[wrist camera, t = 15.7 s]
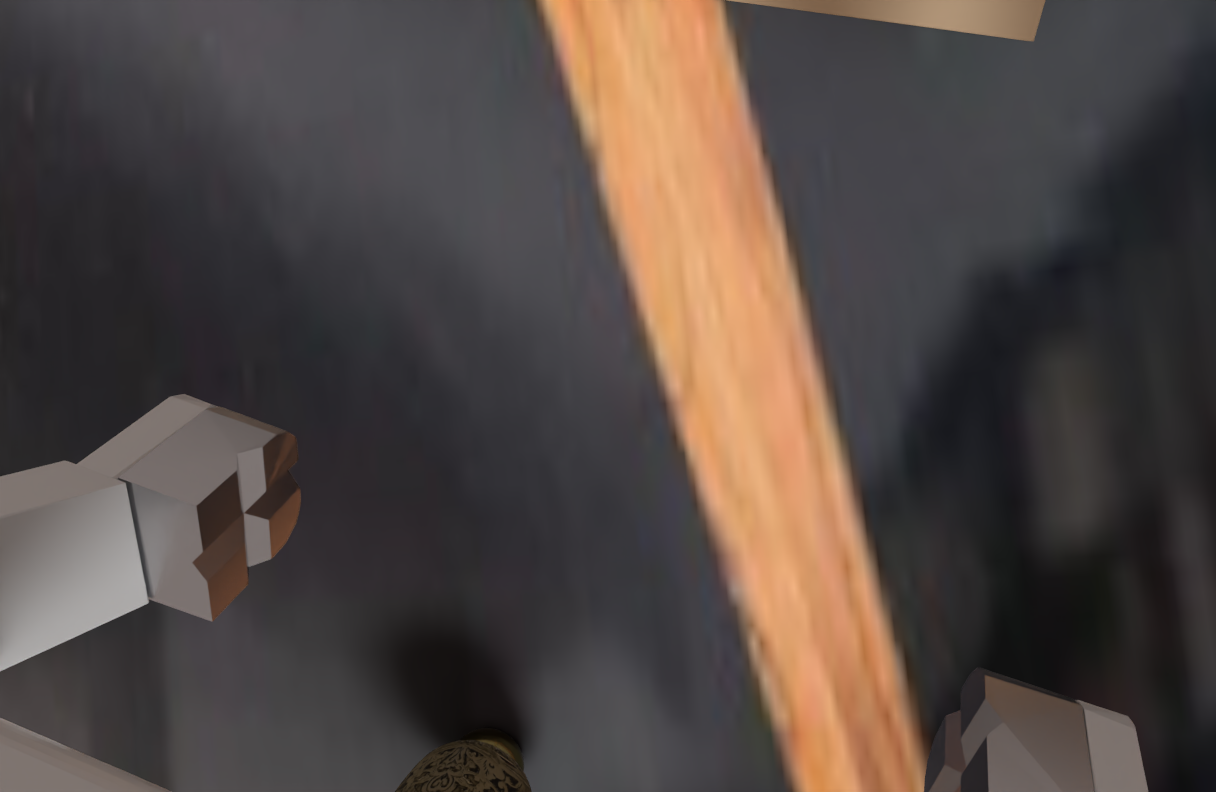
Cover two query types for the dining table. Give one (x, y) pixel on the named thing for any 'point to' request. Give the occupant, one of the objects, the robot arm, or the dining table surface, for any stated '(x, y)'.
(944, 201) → the dining table surface
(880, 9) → the oak board
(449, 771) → the cup
